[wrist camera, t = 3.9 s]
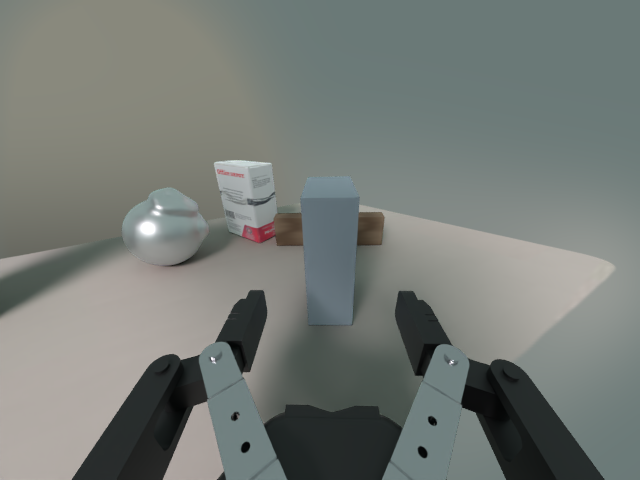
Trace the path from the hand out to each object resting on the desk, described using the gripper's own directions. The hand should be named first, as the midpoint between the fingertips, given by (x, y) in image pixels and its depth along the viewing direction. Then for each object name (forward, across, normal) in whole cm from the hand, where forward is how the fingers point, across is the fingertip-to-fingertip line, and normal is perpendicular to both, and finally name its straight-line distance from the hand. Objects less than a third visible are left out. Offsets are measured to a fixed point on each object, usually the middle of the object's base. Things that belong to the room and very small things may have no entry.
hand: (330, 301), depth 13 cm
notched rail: (+21, 0, +7) cm, 22 cm away
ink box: (+25, +13, +7) cm, 29 cm away
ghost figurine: (+16, +21, +7) cm, 27 cm away
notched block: (+8, 0, +7) cm, 11 cm away
